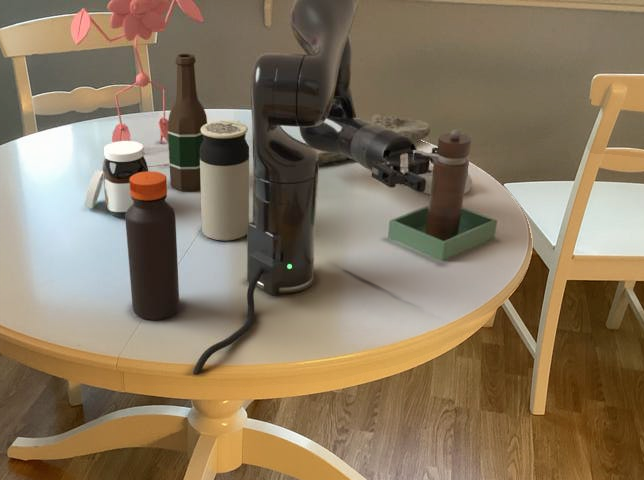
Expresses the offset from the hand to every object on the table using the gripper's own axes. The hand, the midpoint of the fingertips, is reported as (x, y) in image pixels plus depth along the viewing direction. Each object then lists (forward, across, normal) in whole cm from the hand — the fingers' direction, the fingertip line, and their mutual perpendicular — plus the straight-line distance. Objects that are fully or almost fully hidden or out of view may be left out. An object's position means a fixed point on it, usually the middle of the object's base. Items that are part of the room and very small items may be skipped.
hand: (445, 181), depth 134 cm
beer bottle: (-42, -25, +10) cm, 50 cm away
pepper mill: (+1, 0, +9) cm, 9 cm away
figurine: (-60, -25, +10) cm, 66 cm away
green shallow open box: (+1, 0, +10) cm, 10 cm away
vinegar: (-2, -50, +10) cm, 51 cm away
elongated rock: (-41, +14, +10) cm, 44 cm away
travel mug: (-20, -29, +10) cm, 37 cm away
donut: (-15, +14, +10) cm, 23 cm away
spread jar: (-38, -41, +10) cm, 57 cm away
